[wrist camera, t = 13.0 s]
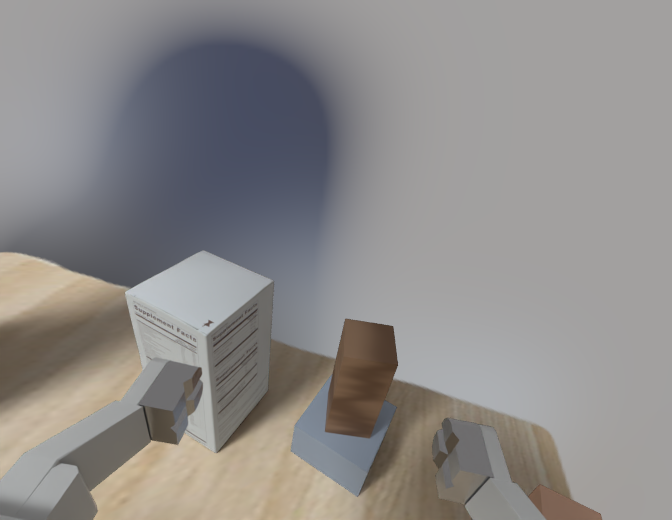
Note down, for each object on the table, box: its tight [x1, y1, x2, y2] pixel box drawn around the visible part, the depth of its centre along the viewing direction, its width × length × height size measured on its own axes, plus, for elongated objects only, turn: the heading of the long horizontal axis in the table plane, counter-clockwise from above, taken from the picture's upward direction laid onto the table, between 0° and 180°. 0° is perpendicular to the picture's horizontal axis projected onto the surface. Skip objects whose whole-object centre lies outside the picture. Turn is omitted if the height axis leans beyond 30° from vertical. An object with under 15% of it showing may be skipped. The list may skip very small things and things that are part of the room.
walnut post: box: [325, 319, 398, 439], centre depth 32 cm, size 4×4×11 cm
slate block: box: [291, 373, 397, 497], centre depth 36 cm, size 8×8×5 cm
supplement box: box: [125, 251, 274, 453], centre depth 35 cm, size 10×9×17 cm
